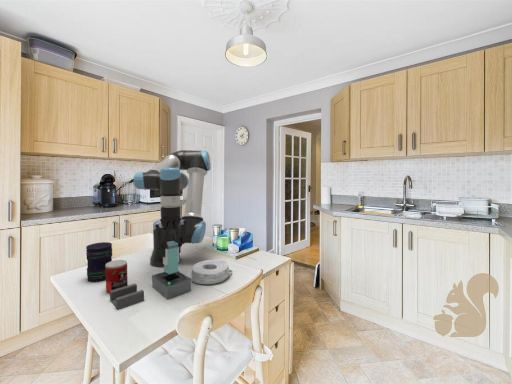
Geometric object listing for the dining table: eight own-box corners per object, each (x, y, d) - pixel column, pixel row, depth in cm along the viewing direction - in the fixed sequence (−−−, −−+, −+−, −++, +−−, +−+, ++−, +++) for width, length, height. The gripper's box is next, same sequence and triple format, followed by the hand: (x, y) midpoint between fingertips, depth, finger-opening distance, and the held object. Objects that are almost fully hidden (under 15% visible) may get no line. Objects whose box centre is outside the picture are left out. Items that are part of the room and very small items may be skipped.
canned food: (112, 295, 94) (111, 268, 93) (102, 290, 98) (101, 263, 97) (131, 288, 100) (131, 262, 99) (121, 283, 104) (120, 258, 103)
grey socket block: (152, 287, 101) (152, 273, 101) (174, 279, 108) (174, 267, 108) (167, 299, 91) (167, 284, 91) (191, 290, 99) (191, 276, 98)
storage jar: (83, 283, 103) (81, 249, 102) (92, 274, 113) (90, 242, 112) (109, 281, 106) (108, 247, 105) (115, 272, 115) (115, 241, 114)
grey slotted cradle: (110, 300, 91) (109, 291, 90) (135, 291, 97) (135, 283, 97) (117, 309, 84) (117, 300, 84) (144, 300, 91) (144, 291, 90)
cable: (234, 272, 118) (234, 260, 118) (221, 288, 101) (221, 274, 101) (201, 268, 122) (201, 257, 122) (183, 283, 105) (183, 270, 105)
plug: (164, 271, 99) (163, 242, 98) (173, 268, 102) (173, 240, 101) (168, 274, 96) (168, 244, 95) (178, 271, 99) (178, 242, 98)
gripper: (153, 209, 89) (153, 271, 90) (194, 205, 101) (194, 260, 102) (145, 206, 94) (145, 265, 95) (185, 203, 106) (185, 255, 108)
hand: (171, 262), depth 99 cm, fingers closed on plug, 4 cm apart
